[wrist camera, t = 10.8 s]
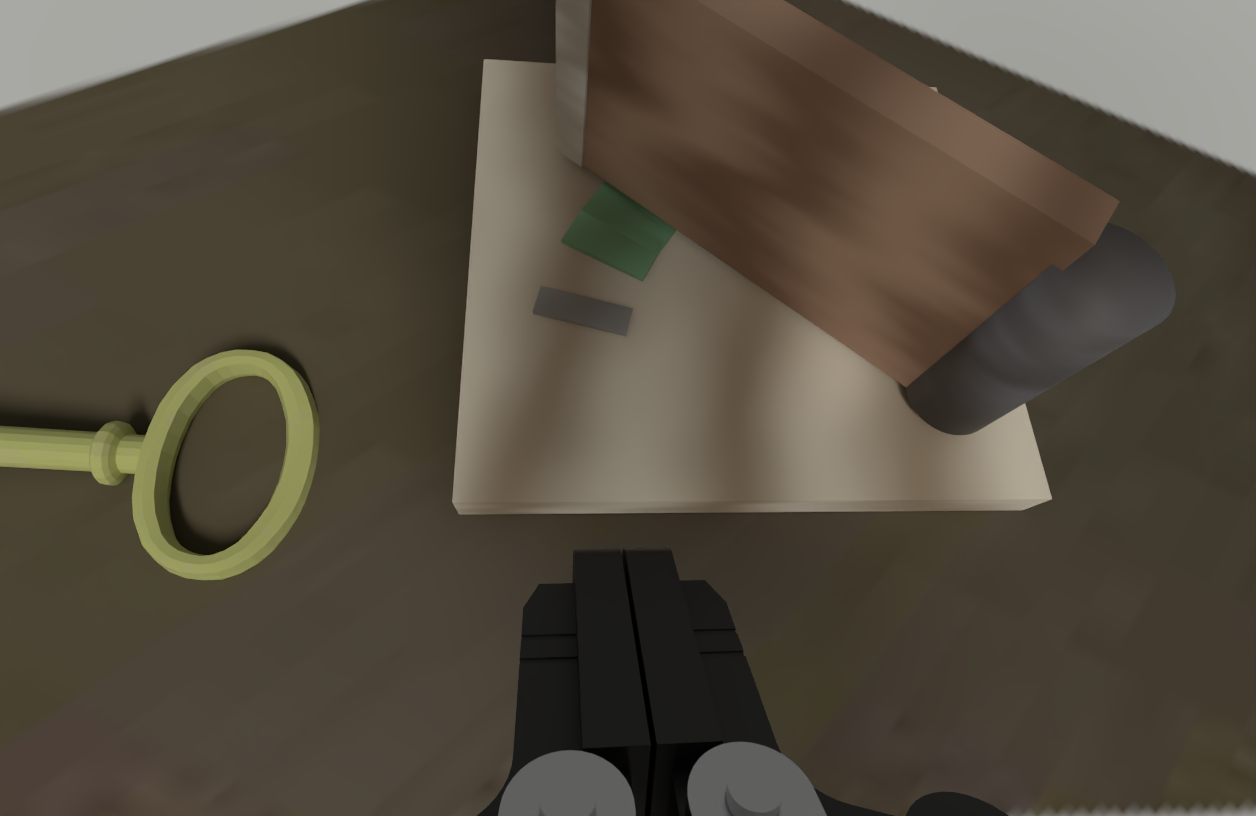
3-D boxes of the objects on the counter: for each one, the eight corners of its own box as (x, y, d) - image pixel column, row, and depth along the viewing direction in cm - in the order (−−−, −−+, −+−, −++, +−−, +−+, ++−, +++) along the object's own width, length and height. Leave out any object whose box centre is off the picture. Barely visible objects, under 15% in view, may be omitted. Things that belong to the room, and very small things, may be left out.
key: (-108, 442, 20) (-179, 417, 18) (311, 350, 23) (289, 320, 21) (-124, 683, 18) (-207, 683, 16) (346, 550, 21) (324, 536, 19)
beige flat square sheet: (458, 514, 21) (451, 501, 19) (487, 90, 28) (483, 54, 26) (1021, 510, 23) (1056, 497, 21) (918, 115, 30) (938, 83, 28)
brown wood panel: (545, 159, 24) (540, -73, 17) (596, 113, 25) (613, -123, 18) (970, 453, 21) (1191, 331, 14) (1007, 387, 22) (1230, 242, 15)
